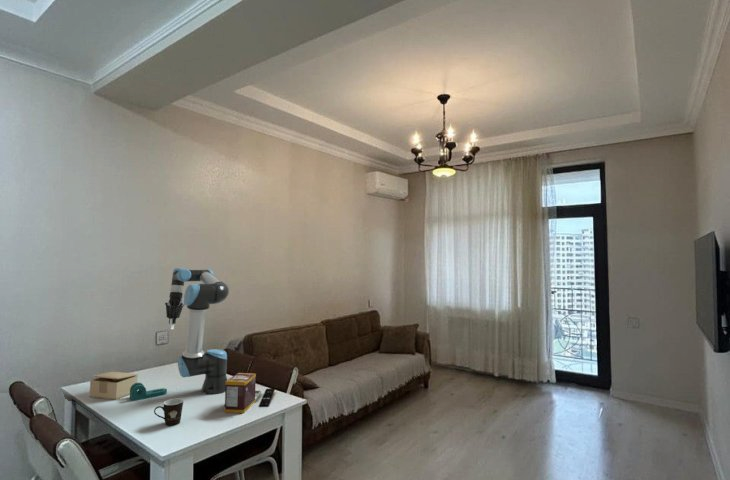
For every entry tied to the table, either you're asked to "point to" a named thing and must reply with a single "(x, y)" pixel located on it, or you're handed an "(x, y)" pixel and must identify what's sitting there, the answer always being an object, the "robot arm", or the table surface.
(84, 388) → the table surface
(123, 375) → the carton lid
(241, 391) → the supplement box
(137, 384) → the bracket
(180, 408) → the coffee mug
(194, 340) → the robot arm
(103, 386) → the carton
